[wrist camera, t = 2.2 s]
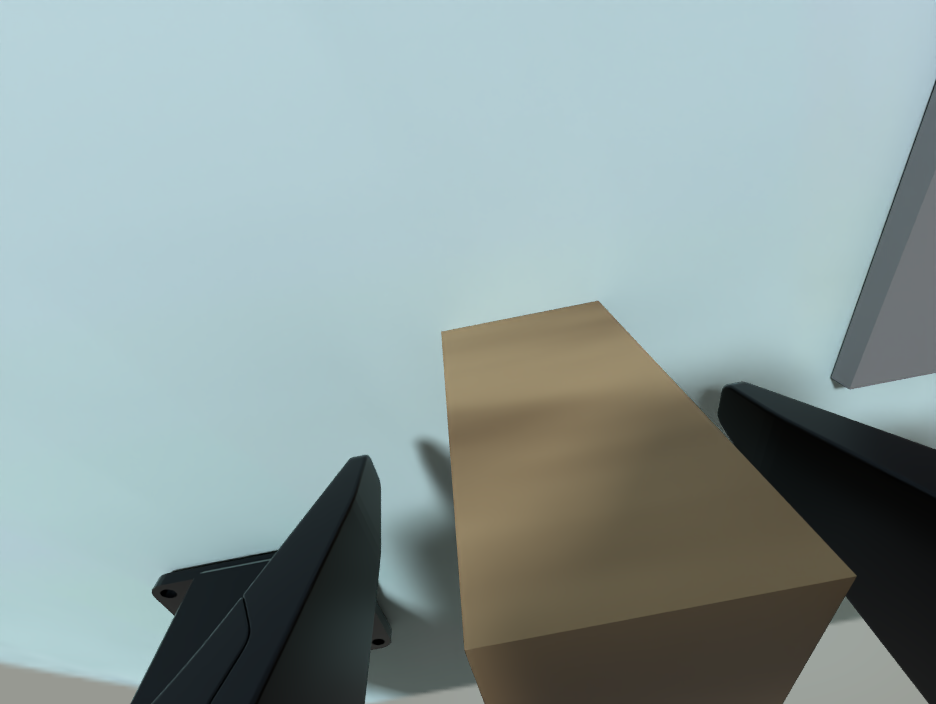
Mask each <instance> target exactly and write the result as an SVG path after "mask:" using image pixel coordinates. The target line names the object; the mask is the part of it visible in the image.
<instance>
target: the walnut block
mask: <svg viewBox="0 0 936 704" xmlns="http://www.w3.org/2000/svg"><path fill="white" fill-rule="evenodd" d="M441 335H442V349H443V362H444V376H445V390H446V404H447V417H448V431H449V445H450V458H451V472H452V486H453V500H454V513H455V527H456V541H457V555H458V568H459V582H460V596H461V610H462V623H463V637H464V650H465V653H466V656H467V658H468V661H469V664H470V666H471V669H472V672H473V674H474V677H475V680H476V682H477V685H478V688H479V690H480V693H481V696H482V698H483V701H484V703H485V704H783V702H784V700H785V699H786V697H787V695H788V694H789V692H790V690H791V689H792V687H793V685H794V683H795V681H796V680H797V678H798V677H799V675H800V673H801V671H802V670H803V668H804V666H805V664H806V663H807V661H808V659H809V658H810V656H811V654H812V652H813V651H814V649H815V647H816V645H817V644H818V642H819V640H820V639H821V637H822V635H823V633H824V632H825V630H826V628H827V627H828V625H829V623H830V621H831V620H832V618H833V616H834V615H835V613H836V611H837V609H838V608H839V606H840V604H841V602H842V601H843V599H844V597H845V596H846V594H847V592H848V590H849V589H850V587H851V585H852V584H853V582H854V580H855V578H856V577H857V576H856V575H855V574H854V572H853V571H852V570H851V569H850V568H849V567H848V566H847V565H846V564H845V563H844V562H843V561H842V560H841V559H840V558H839V557H838V555H837V554H836V553H835V552H834V551H833V550H832V549H831V548H830V547H829V546H828V545H827V544H826V543H825V542H824V541H823V539H822V538H821V537H820V536H819V535H818V534H817V533H816V532H815V531H814V530H813V529H812V528H811V527H810V526H809V525H808V524H807V522H806V521H805V520H804V519H803V518H802V517H801V516H800V515H799V514H798V513H797V512H796V511H795V510H794V509H793V508H792V506H791V505H790V504H789V503H788V502H787V501H786V500H785V499H784V498H783V497H782V496H781V495H780V494H779V493H778V492H777V491H776V489H775V488H774V487H773V486H772V485H771V484H770V483H769V482H768V481H767V480H766V479H765V478H764V477H763V476H762V475H761V473H760V472H759V471H758V470H757V469H756V468H755V467H754V466H753V465H752V464H751V463H750V462H749V461H748V460H747V459H746V458H745V456H744V455H743V454H742V453H741V452H740V451H739V450H738V449H737V448H736V447H735V446H734V445H733V444H732V443H731V442H730V440H729V439H728V438H727V437H726V436H725V435H724V434H723V433H722V432H721V431H720V430H719V429H718V428H717V427H716V426H715V425H714V423H713V422H712V421H711V420H710V419H709V418H708V417H707V416H706V415H705V414H704V413H703V412H702V411H701V410H700V409H699V407H698V406H697V405H696V404H695V403H694V402H693V401H692V400H691V399H690V398H689V397H688V396H687V395H686V394H685V393H684V392H683V390H682V389H681V388H680V387H679V386H678V385H677V384H676V383H675V382H674V381H673V380H672V379H671V378H670V377H669V376H668V374H667V373H666V372H665V371H664V370H663V369H662V368H661V367H660V366H659V365H658V364H657V363H656V362H655V361H654V360H653V359H652V357H651V356H650V355H649V354H648V353H647V352H646V351H645V350H644V349H643V348H642V347H641V346H640V345H639V344H638V343H637V341H636V340H635V339H634V338H633V337H632V336H631V335H630V334H629V333H628V332H627V331H626V330H625V329H624V328H623V327H622V325H621V324H620V323H619V322H618V321H617V320H616V319H615V318H614V317H613V316H612V315H611V314H610V313H609V312H608V311H607V310H606V308H605V307H604V306H603V305H602V304H601V303H600V302H599V301H595V302H590V303H585V304H580V305H574V306H569V307H564V308H559V309H554V310H549V311H544V312H539V313H534V314H529V315H524V316H519V317H514V318H509V319H503V320H498V321H493V322H488V323H483V324H478V325H473V326H468V327H463V328H458V329H453V330H448V331H443V332H441Z"/></svg>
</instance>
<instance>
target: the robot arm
mask: <svg viewBox="0 0 936 704" xmlns="http://www.w3.org/2000/svg"><path fill="white" fill-rule="evenodd" d="M718 418H719V421H720V423H721V425H722V427H723V428H724V430H725V432H726V433H727V435H728V436H729V438H730V440H731V441H732V443H733V444H734V446H735V447H736V448H737V449H738V450H739V451H740V452H741V453H742V454H743V455H744V456H745V458H746V459H747V460H748V461H749V462H750V463H751V464H752V465H753V466H754V467H755V468H756V469H757V470H758V471H759V472H760V473H761V475H762V476H763V477H764V478H765V479H766V480H767V481H768V482H769V483H770V484H771V485H772V486H773V487H774V488H775V489H776V491H777V492H778V493H779V494H780V495H781V496H782V497H783V498H784V499H785V500H786V501H787V502H788V503H789V504H790V505H791V506H792V508H793V509H794V510H795V511H796V512H797V513H798V514H799V515H800V516H801V517H802V518H803V519H804V520H805V521H806V522H807V524H808V525H809V526H810V527H811V528H812V529H813V530H814V531H815V532H816V533H817V534H818V535H819V536H820V537H821V538H822V539H823V541H824V542H825V543H826V544H827V545H828V546H829V547H830V548H831V549H832V550H833V551H834V552H835V553H836V554H837V555H838V557H839V558H840V559H841V560H842V561H843V562H844V563H845V564H846V565H847V566H848V567H849V568H850V569H851V570H852V571H853V572H854V574H855V575H856V576H857V577H856V578H855V580H854V582H853V584H852V585H851V587H850V589H849V590H848V592H847V594H846V597H847V599H848V600H849V601H850V602H851V604H852V605H853V606H854V608H855V609H856V610H857V612H858V613H859V614H860V615H861V617H862V618H863V619H864V621H865V622H866V623H867V624H868V626H869V627H870V628H871V630H872V631H873V632H874V633H875V635H876V636H877V637H878V638H879V640H880V641H881V642H882V644H883V645H884V646H885V648H886V649H887V650H888V652H889V653H890V654H891V655H892V657H893V658H894V659H895V660H896V662H897V663H898V664H899V666H900V667H901V668H902V670H903V671H904V672H905V674H906V675H907V676H908V677H909V679H910V680H911V681H912V682H913V684H914V685H915V686H916V688H917V689H918V690H919V692H920V693H921V694H922V695H923V697H924V698H925V699H926V701H927V702H928V703H929V704H936V449H933V448H930V447H927V446H924V445H922V444H919V443H916V442H913V441H910V440H907V439H905V438H902V437H899V436H896V435H893V434H891V433H888V432H885V431H882V430H879V429H876V428H874V427H871V426H868V425H865V424H862V423H859V422H857V421H854V420H851V419H848V418H845V417H843V416H840V415H837V414H834V413H831V412H828V411H826V410H823V409H820V408H817V407H814V406H812V405H809V404H806V403H803V402H800V401H797V400H795V399H792V398H789V397H786V396H783V395H781V394H778V393H775V392H772V391H769V390H766V389H764V388H761V387H758V386H755V385H752V384H749V383H747V382H737V383H732V384H727V385H725V386H724V387H723V389H722V392H721V398H720V403H719V408H718ZM380 557H381V485H380V480H379V477H378V475H377V472H376V470H375V467H374V465H373V462H372V460H371V458H370V457H369V456H368V455H362V456H357V457H352V458H350V459H349V460H348V461H347V463H346V464H345V465H344V467H343V468H342V469H341V470H340V472H339V473H338V474H337V476H336V477H335V478H334V479H333V481H332V482H331V483H330V484H329V486H328V487H327V488H326V490H325V491H324V492H323V493H322V495H321V496H320V497H319V499H318V500H317V501H316V502H315V504H314V505H313V506H312V507H311V509H310V510H309V511H308V513H307V514H306V515H305V516H304V518H303V519H302V520H301V521H300V523H299V524H298V525H297V527H296V528H295V529H294V530H293V532H292V533H291V534H290V536H289V537H288V538H287V539H286V541H285V542H284V543H283V544H282V546H281V547H280V548H279V550H278V551H277V552H276V553H271V554H266V555H260V556H255V557H250V558H245V559H240V560H234V561H229V562H224V563H219V564H214V565H208V566H203V567H198V568H193V569H188V570H183V571H177V572H172V573H167V574H164V575H162V576H161V577H160V578H159V579H158V581H157V582H156V584H155V586H154V588H153V589H152V594H153V596H154V597H155V598H156V599H157V600H158V601H159V602H160V603H161V604H162V605H163V606H165V607H166V608H167V609H168V610H169V611H170V612H171V613H172V614H173V615H174V618H173V620H172V622H171V624H170V626H169V628H168V630H167V632H166V634H165V636H164V638H163V640H162V642H161V644H160V646H159V648H158V650H157V652H156V654H155V656H154V658H153V660H152V662H151V664H150V666H149V668H148V670H147V672H146V674H145V676H144V678H143V680H142V682H141V684H140V686H139V688H138V690H137V691H136V694H135V696H134V697H133V700H132V702H131V703H130V704H365V696H366V687H367V677H368V668H369V659H370V650H373V649H378V648H383V647H386V646H388V645H389V644H390V643H391V635H392V630H391V627H390V625H389V623H388V622H387V620H386V618H385V616H384V614H383V612H382V611H381V609H380V607H379V605H378V603H377V601H376V595H377V586H378V577H379V568H380Z"/></svg>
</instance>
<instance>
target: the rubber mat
mask: <svg viewBox="0 0 936 704" xmlns="http://www.w3.org/2000/svg"><path fill="white" fill-rule="evenodd" d="M932 373H936V85H935V87H934V90H933V93H932V96H931V99H930V101H929V104H928V107H927V110H926V113H925V115H924V118H923V121H922V124H921V127H920V130H919V132H918V135H917V138H916V141H915V144H914V146H913V149H912V152H911V155H910V158H909V160H908V163H907V166H906V169H905V172H904V174H903V177H902V180H901V183H900V186H899V189H898V191H897V194H896V197H895V200H894V203H893V205H892V208H891V211H890V214H889V217H888V219H887V222H886V225H885V228H884V231H883V233H882V236H881V239H880V242H879V245H878V248H877V250H876V253H875V256H874V259H873V262H872V264H871V267H870V270H869V273H868V276H867V278H866V281H865V284H864V287H863V290H862V292H861V295H860V298H859V301H858V304H857V306H856V309H855V312H854V315H853V318H852V321H851V323H850V326H849V329H848V332H847V335H846V337H845V340H844V343H843V346H842V349H841V351H840V354H839V357H838V360H837V363H836V365H835V368H834V371H833V374H832V377H831V378H832V379H834V380H835V381H837V382H839V383H840V384H842V385H843V386H845V387H846V388H848V389H854V388H860V387H865V386H870V385H875V384H880V383H885V382H891V381H896V380H901V379H906V378H911V377H916V376H921V375H927V374H932Z"/></svg>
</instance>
